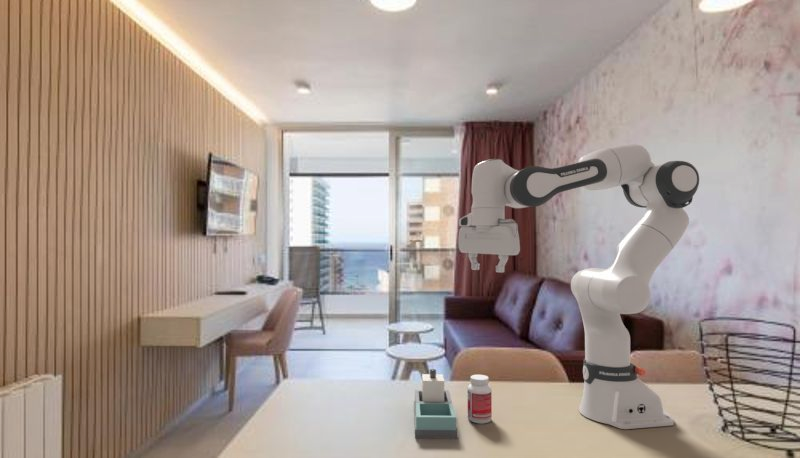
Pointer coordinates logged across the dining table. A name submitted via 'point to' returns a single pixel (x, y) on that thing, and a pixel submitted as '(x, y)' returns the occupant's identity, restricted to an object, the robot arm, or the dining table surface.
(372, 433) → the dining table surface
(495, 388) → the dining table surface
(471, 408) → the pill bottle
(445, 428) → the teal tray with block
